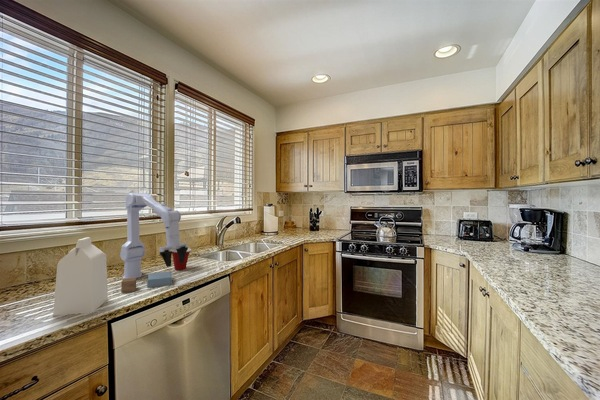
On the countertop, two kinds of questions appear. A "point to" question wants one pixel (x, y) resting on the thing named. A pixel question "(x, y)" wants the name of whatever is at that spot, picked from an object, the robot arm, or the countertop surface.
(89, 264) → the milk
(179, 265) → the plastic cup
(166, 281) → the slate block
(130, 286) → the walnut cube
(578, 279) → the countertop surface
